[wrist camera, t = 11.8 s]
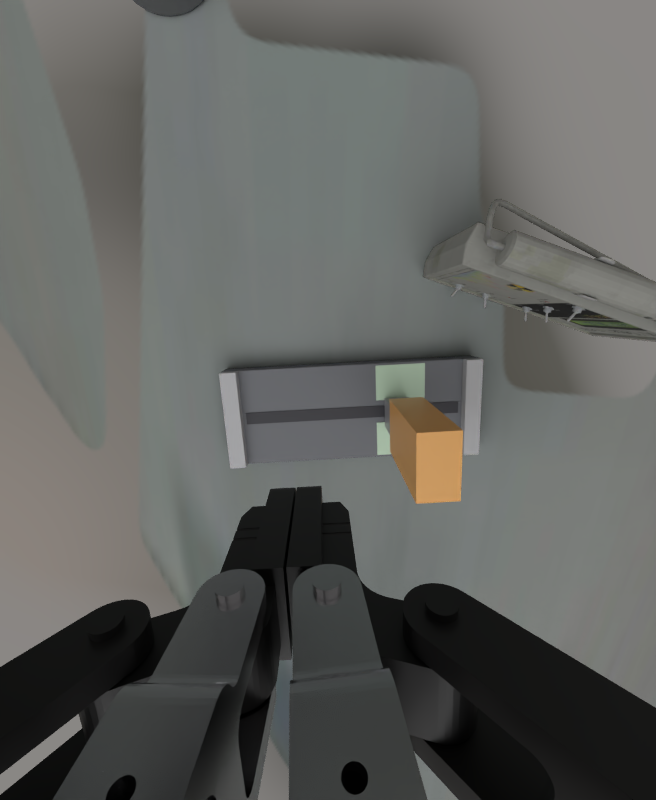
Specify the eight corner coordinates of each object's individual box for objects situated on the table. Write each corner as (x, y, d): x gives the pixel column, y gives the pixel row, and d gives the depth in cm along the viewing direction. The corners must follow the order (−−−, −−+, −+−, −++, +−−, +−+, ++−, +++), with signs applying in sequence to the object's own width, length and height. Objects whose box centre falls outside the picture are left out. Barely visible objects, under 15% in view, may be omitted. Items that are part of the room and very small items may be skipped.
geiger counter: (469, 273, 24) (793, 387, 26) (510, 169, 22) (848, 298, 25) (416, 286, 37) (631, 360, 40) (439, 222, 36) (661, 302, 38)
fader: (382, 435, 38) (416, 503, 25) (381, 388, 37) (416, 433, 24) (410, 433, 38) (460, 501, 25) (410, 387, 37) (463, 430, 24)
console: (236, 457, 41) (230, 468, 38) (226, 369, 39) (218, 373, 36) (467, 444, 41) (478, 454, 38) (471, 355, 39) (483, 359, 36)
